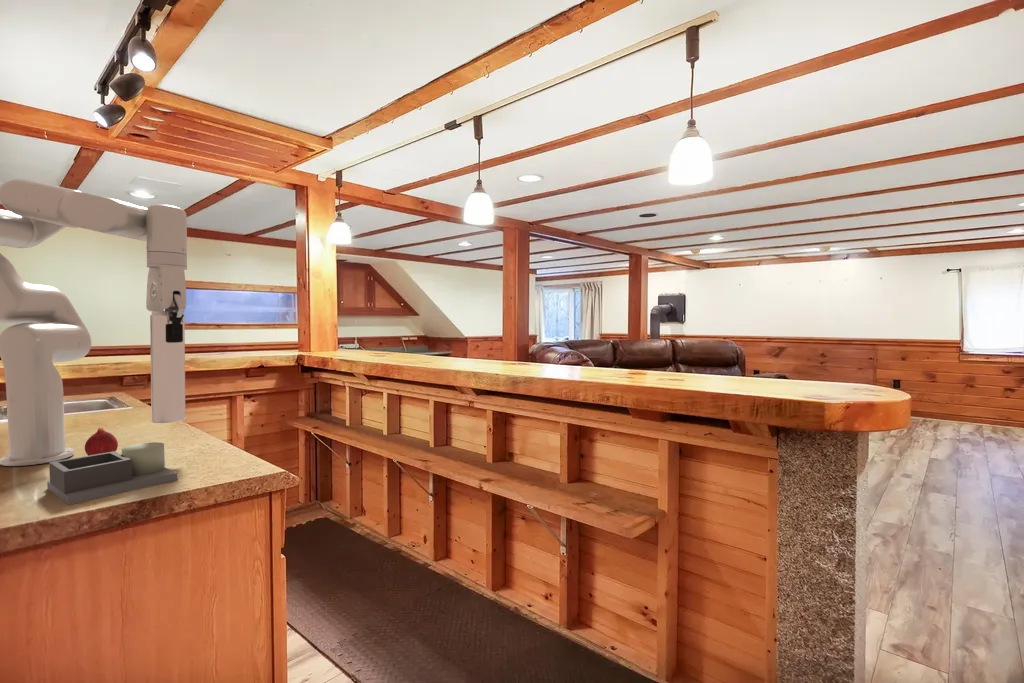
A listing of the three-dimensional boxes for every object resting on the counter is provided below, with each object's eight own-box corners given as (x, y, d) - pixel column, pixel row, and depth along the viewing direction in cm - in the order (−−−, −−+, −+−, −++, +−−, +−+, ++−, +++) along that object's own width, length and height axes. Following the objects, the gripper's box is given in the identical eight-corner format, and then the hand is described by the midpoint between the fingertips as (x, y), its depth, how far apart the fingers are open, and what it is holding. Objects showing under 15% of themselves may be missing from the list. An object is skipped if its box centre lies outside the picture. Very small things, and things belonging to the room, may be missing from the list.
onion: (124, 460, 116) (123, 425, 116) (96, 467, 111) (95, 431, 110) (107, 457, 118) (106, 424, 118) (79, 464, 113) (77, 429, 112)
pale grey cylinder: (172, 423, 112) (171, 310, 111) (144, 422, 112) (142, 310, 111) (192, 417, 118) (191, 311, 117) (164, 417, 118) (163, 310, 117)
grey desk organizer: (47, 488, 97) (46, 455, 96) (151, 467, 110) (150, 438, 110) (68, 504, 88) (66, 468, 88) (177, 480, 102) (176, 448, 102)
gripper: (133, 262, 116) (134, 340, 116) (163, 258, 105) (164, 343, 106) (170, 265, 122) (171, 339, 122) (202, 261, 111) (202, 342, 112)
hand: (168, 340), depth 114 cm, fingers closed on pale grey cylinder, 6 cm apart
